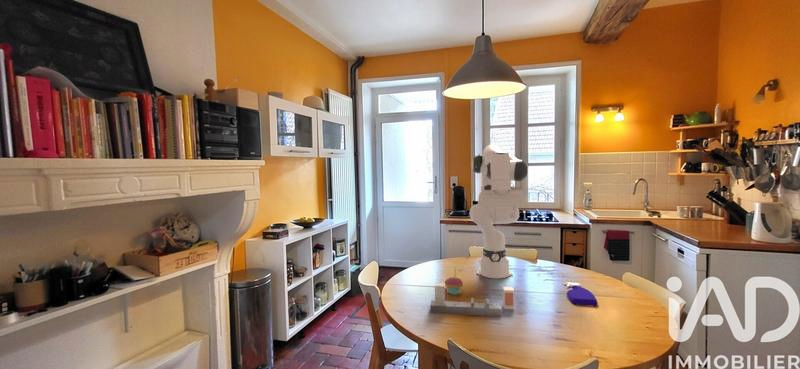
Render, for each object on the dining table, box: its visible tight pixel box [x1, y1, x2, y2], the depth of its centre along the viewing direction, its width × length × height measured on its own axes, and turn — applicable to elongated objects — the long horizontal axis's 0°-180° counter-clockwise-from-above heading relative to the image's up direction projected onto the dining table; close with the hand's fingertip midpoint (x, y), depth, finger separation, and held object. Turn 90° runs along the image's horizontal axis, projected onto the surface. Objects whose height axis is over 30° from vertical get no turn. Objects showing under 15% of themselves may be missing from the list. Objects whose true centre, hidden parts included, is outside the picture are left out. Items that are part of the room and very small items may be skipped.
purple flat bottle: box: [562, 281, 598, 307], centre depth 154 cm, size 3×11×24 cm
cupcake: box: [444, 266, 464, 296], centre depth 159 cm, size 9×8×12 cm
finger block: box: [502, 286, 515, 310], centre depth 142 cm, size 4×5×8 cm
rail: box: [429, 282, 502, 317], centre depth 138 cm, size 5×28×11 cm, turn 79°
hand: (501, 217), depth 151 cm, fingers open, 8 cm apart
